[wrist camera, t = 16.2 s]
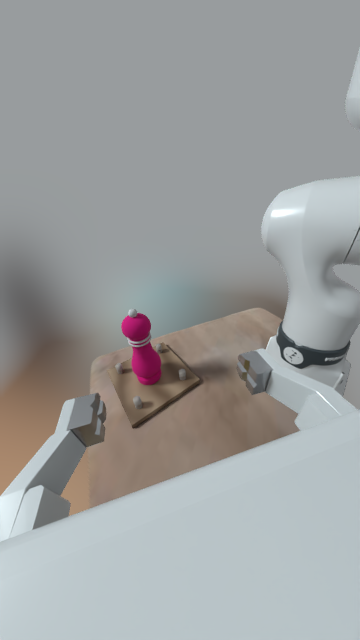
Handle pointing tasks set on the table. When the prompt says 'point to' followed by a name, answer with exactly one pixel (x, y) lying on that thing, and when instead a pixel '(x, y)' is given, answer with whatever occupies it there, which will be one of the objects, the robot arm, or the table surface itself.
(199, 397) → the table surface
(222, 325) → the table surface
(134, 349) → the pepper mill
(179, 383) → the pin base
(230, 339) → the table surface
